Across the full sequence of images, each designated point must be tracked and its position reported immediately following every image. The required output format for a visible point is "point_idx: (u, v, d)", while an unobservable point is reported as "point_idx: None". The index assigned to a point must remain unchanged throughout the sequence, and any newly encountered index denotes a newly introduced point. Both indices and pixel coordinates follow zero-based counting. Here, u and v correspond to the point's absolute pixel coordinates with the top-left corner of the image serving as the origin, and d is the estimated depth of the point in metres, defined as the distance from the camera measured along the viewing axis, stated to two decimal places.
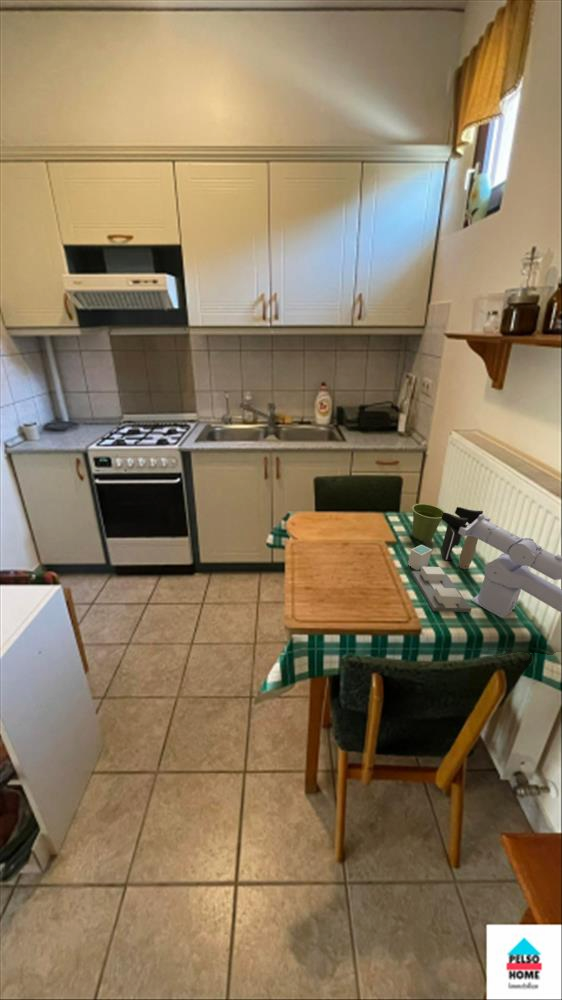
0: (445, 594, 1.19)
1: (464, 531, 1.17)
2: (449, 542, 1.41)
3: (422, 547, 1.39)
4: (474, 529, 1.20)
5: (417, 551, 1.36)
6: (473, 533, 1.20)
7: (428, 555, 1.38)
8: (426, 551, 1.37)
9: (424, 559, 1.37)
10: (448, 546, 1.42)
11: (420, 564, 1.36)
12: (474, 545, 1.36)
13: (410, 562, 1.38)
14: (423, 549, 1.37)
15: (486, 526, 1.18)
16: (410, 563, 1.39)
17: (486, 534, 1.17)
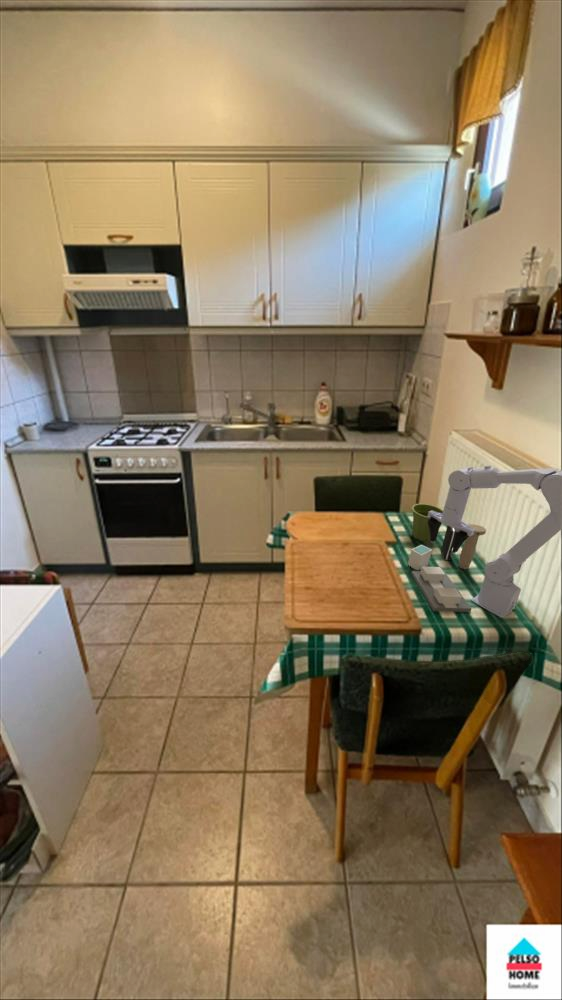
0: (445, 594, 1.19)
1: None
2: (449, 542, 1.41)
3: (422, 547, 1.39)
4: None
5: (417, 551, 1.36)
6: (441, 516, 1.29)
7: (428, 555, 1.38)
8: (426, 551, 1.37)
9: (424, 559, 1.37)
10: (448, 546, 1.42)
11: (420, 564, 1.36)
12: (474, 545, 1.36)
13: (410, 562, 1.38)
14: (424, 549, 1.37)
15: None
16: (410, 563, 1.39)
17: None
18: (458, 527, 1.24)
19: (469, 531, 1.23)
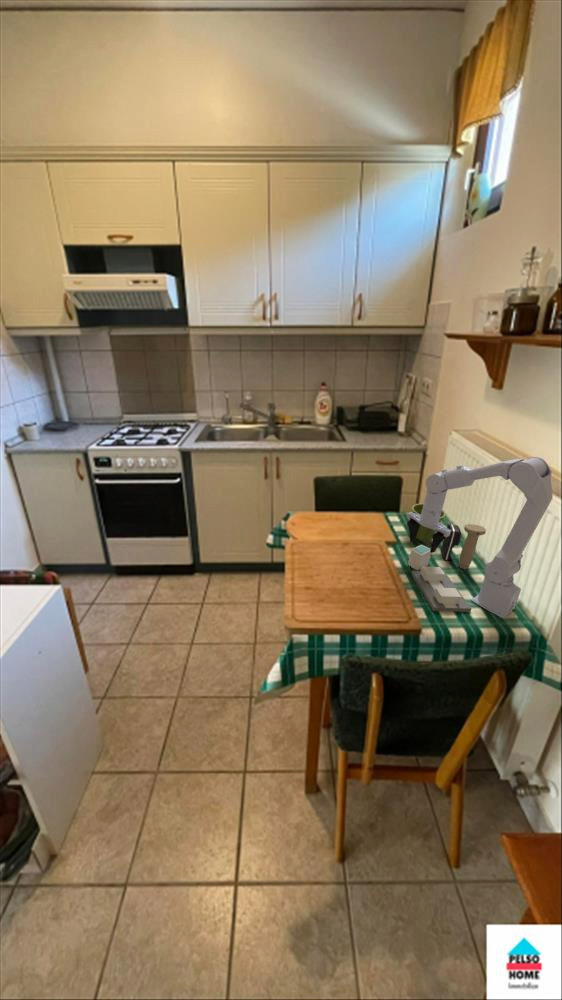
0: (445, 594, 1.19)
1: None
2: (449, 542, 1.41)
3: (422, 547, 1.39)
4: None
5: (417, 551, 1.36)
6: (420, 517, 1.34)
7: (428, 555, 1.38)
8: (426, 551, 1.37)
9: (424, 559, 1.37)
10: (448, 546, 1.42)
11: (420, 564, 1.36)
12: (474, 545, 1.36)
13: (410, 562, 1.38)
14: (423, 549, 1.37)
15: None
16: (410, 563, 1.39)
17: None
18: (435, 528, 1.30)
19: (445, 532, 1.28)
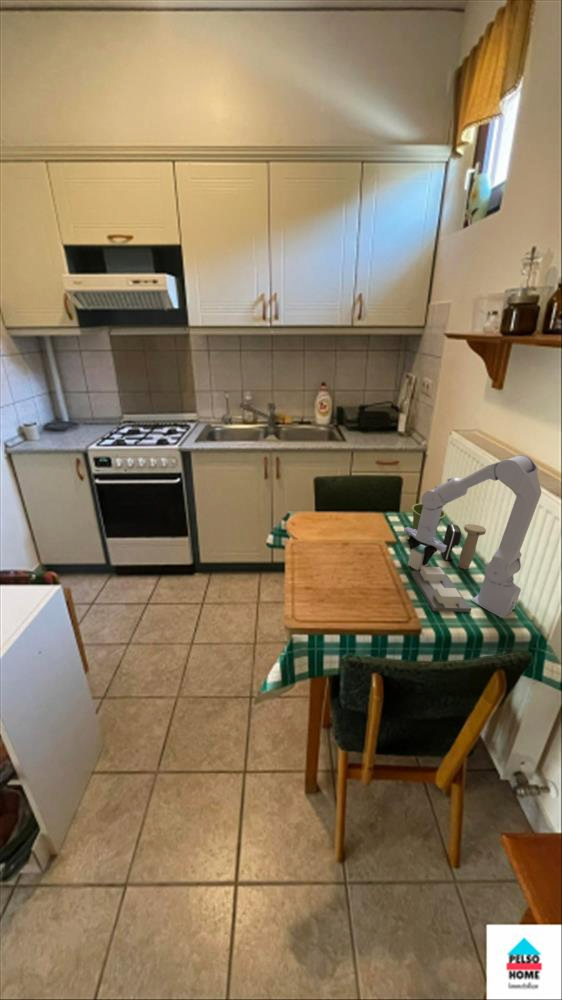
0: (445, 594, 1.19)
1: None
2: (449, 542, 1.41)
3: (422, 547, 1.39)
4: None
5: (417, 551, 1.36)
6: (416, 532, 1.36)
7: None
8: None
9: None
10: (448, 546, 1.42)
11: (420, 563, 1.36)
12: (474, 545, 1.36)
13: (410, 562, 1.38)
14: None
15: None
16: (410, 563, 1.39)
17: None
18: (431, 544, 1.32)
19: (441, 547, 1.31)
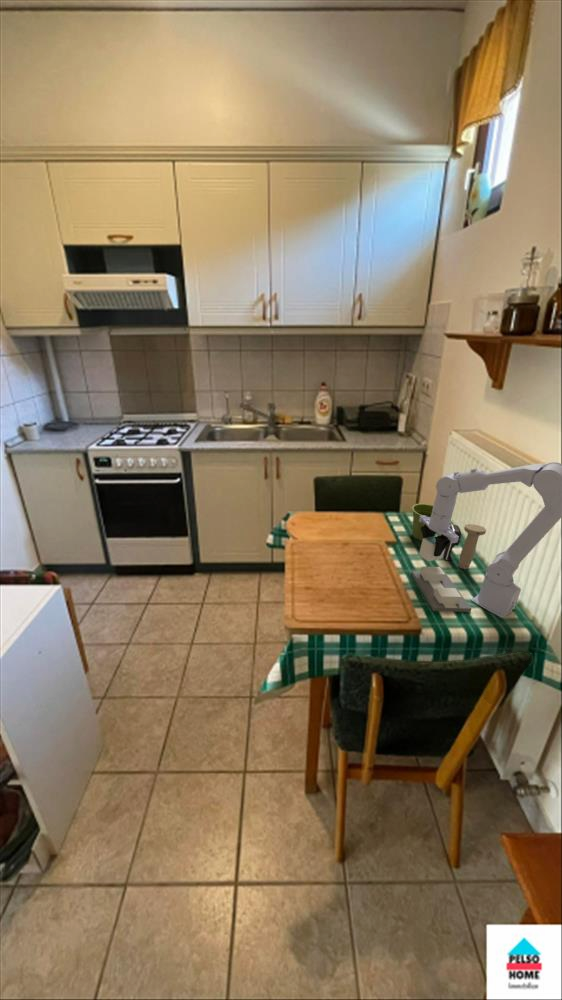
0: (445, 594, 1.19)
1: None
2: None
3: None
4: None
5: (429, 540, 1.29)
6: None
7: None
8: None
9: None
10: (448, 546, 1.42)
11: (430, 554, 1.28)
12: (474, 545, 1.36)
13: (422, 552, 1.31)
14: None
15: None
16: (421, 553, 1.31)
17: None
18: (442, 533, 1.24)
19: (452, 538, 1.22)
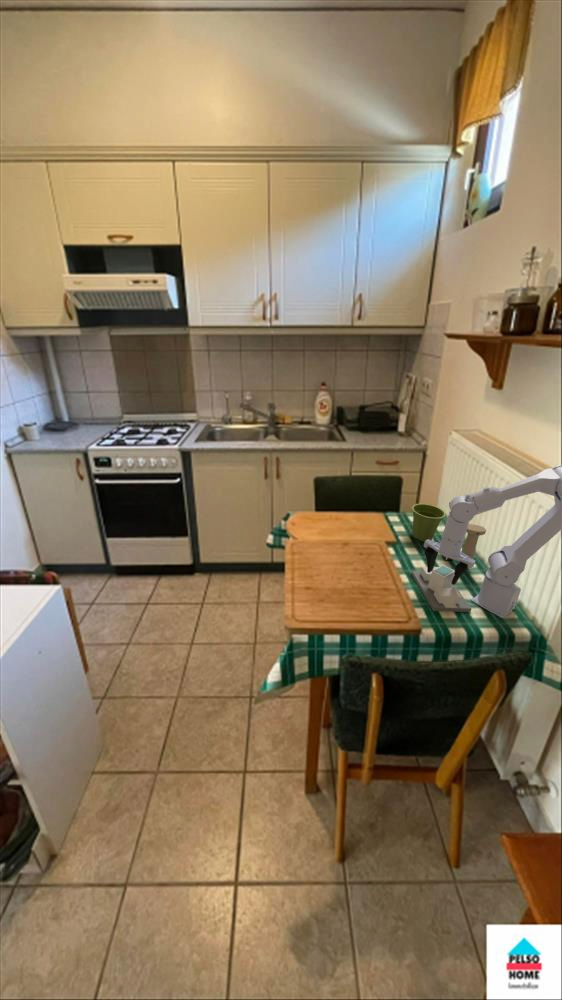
0: (445, 594, 1.19)
1: None
2: None
3: (444, 568, 1.25)
4: None
5: (439, 573, 1.22)
6: (439, 546, 1.22)
7: (451, 577, 1.24)
8: (449, 573, 1.23)
9: (446, 582, 1.23)
10: None
11: (442, 587, 1.22)
12: (474, 545, 1.36)
13: (431, 585, 1.25)
14: (446, 570, 1.24)
15: None
16: (431, 586, 1.25)
17: None
18: (458, 559, 1.18)
19: (469, 563, 1.16)
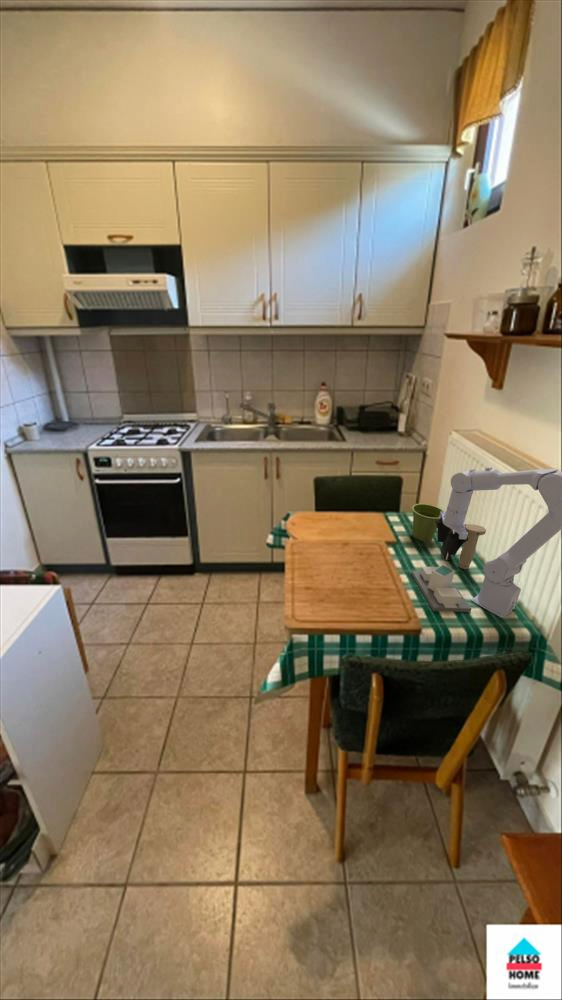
0: (445, 594, 1.19)
1: None
2: None
3: (444, 568, 1.25)
4: None
5: (439, 573, 1.22)
6: None
7: (451, 577, 1.24)
8: (449, 573, 1.23)
9: (446, 582, 1.23)
10: (448, 546, 1.42)
11: (442, 587, 1.22)
12: (474, 545, 1.36)
13: (431, 585, 1.25)
14: (446, 570, 1.24)
15: None
16: (431, 586, 1.25)
17: None
18: (452, 528, 1.26)
19: (460, 533, 1.23)
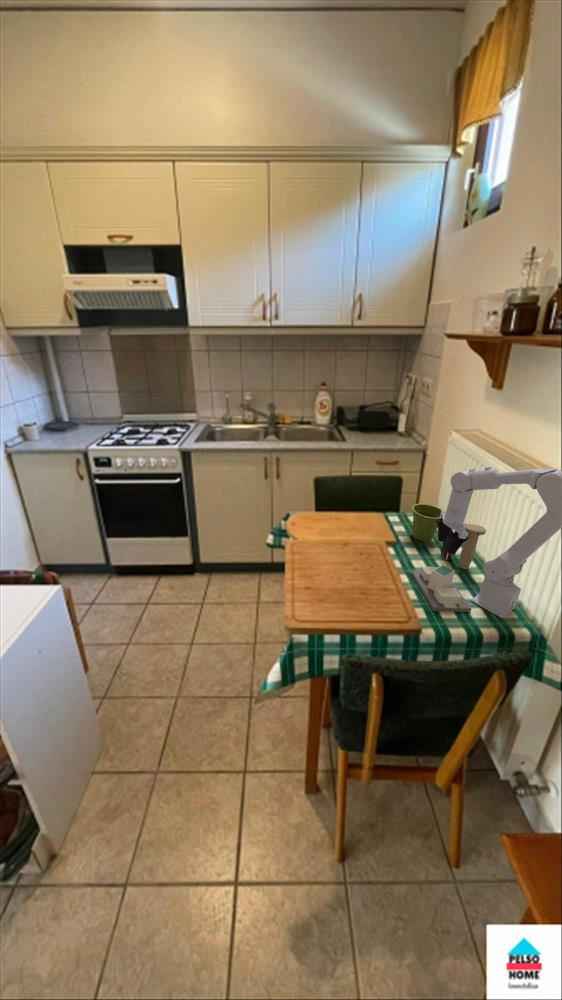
0: (445, 594, 1.19)
1: None
2: None
3: (444, 568, 1.25)
4: None
5: (439, 573, 1.22)
6: None
7: (451, 577, 1.24)
8: (449, 573, 1.23)
9: (446, 582, 1.23)
10: (448, 546, 1.42)
11: (442, 587, 1.22)
12: (474, 545, 1.36)
13: (431, 585, 1.25)
14: (446, 570, 1.24)
15: None
16: (431, 586, 1.25)
17: None
18: (452, 527, 1.26)
19: (459, 533, 1.24)
